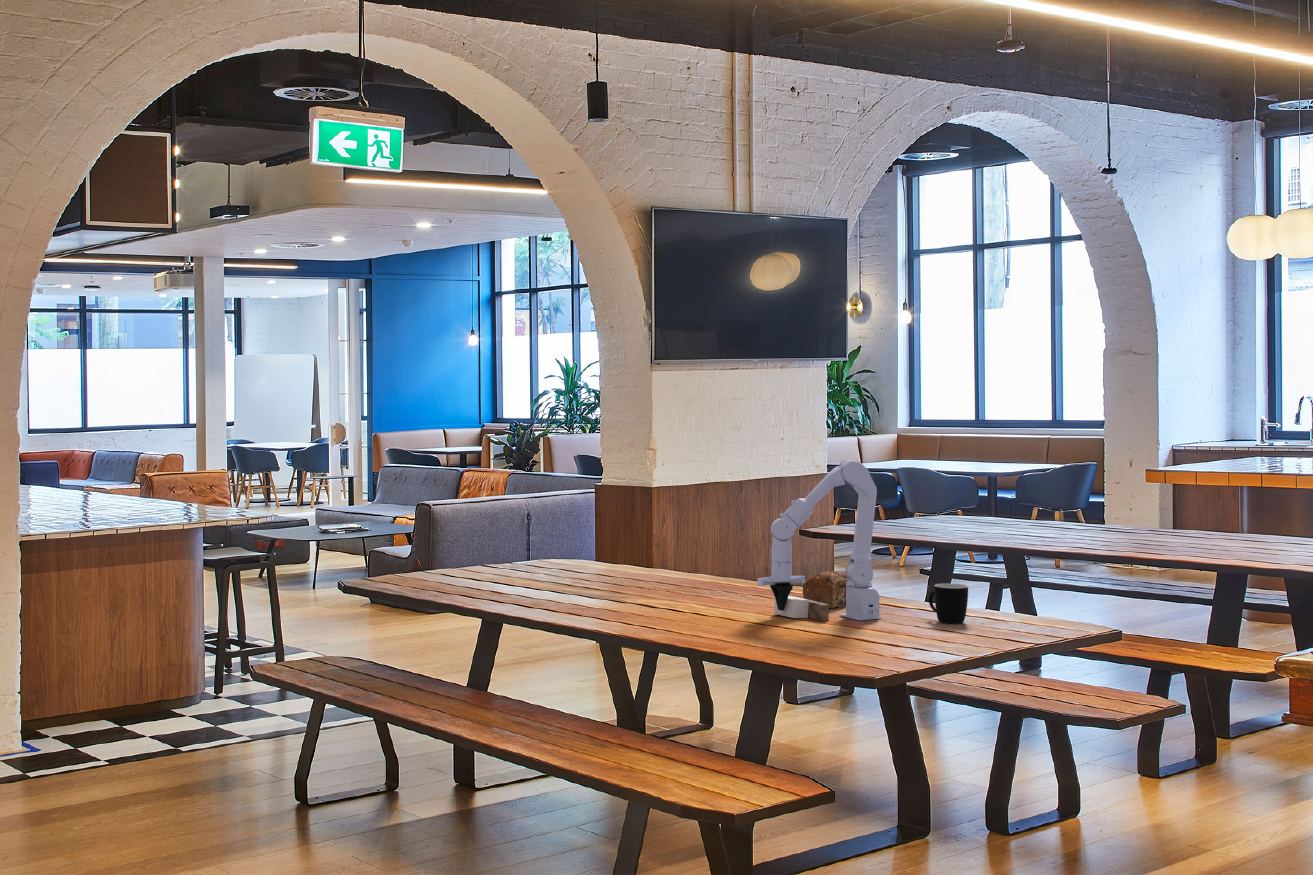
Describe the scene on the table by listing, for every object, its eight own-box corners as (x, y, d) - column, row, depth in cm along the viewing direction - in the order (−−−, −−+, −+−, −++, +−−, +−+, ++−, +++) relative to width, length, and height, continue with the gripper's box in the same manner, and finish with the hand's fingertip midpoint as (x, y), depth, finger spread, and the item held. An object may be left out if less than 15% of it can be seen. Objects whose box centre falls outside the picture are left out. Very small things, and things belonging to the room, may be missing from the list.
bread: (833, 610, 371) (833, 576, 371) (800, 607, 377) (800, 573, 377) (860, 602, 387) (861, 569, 386) (829, 599, 393) (829, 566, 392)
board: (828, 620, 352) (828, 604, 352) (822, 621, 351) (822, 604, 351) (784, 609, 372) (784, 593, 372) (778, 609, 371) (778, 594, 371)
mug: (974, 623, 349) (975, 586, 349) (953, 626, 343) (953, 588, 343) (940, 617, 358) (940, 581, 358) (918, 620, 353) (919, 583, 353)
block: (807, 617, 357) (808, 599, 357) (793, 618, 355) (794, 600, 355) (788, 613, 365) (789, 595, 365) (774, 613, 362) (775, 595, 362)
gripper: (795, 558, 364) (794, 606, 365) (752, 561, 358) (751, 609, 358) (809, 561, 358) (808, 609, 358) (765, 564, 351) (764, 613, 352)
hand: (781, 610), depth 358 cm, fingers closed
